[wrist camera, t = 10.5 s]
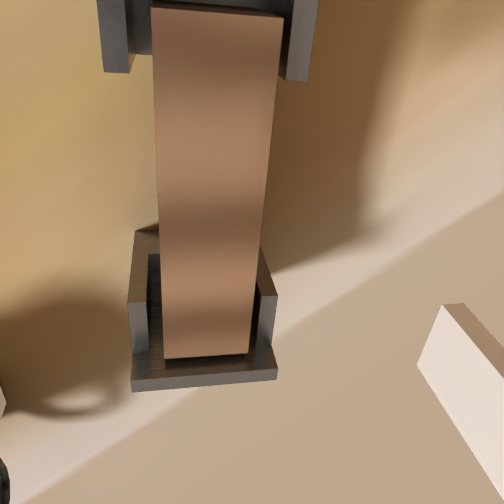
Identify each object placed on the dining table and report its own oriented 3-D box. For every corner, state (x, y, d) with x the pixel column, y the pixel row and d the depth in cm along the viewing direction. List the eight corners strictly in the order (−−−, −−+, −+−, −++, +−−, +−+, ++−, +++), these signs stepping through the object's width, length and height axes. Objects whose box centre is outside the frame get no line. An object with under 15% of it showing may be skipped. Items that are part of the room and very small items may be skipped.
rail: (153, -1, 20) (150, 7, 16) (255, 7, 21) (283, 18, 16) (163, 295, 30) (164, 358, 25) (234, 292, 31) (247, 353, 26)
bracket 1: (111, -67, 21) (78, -91, 13) (279, -49, 23) (345, -61, 15) (120, 44, 24) (97, 82, 16) (269, 53, 26) (321, 92, 17)
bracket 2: (134, 231, 30) (124, 327, 22) (254, 228, 32) (285, 317, 24) (139, 287, 33) (131, 392, 25) (249, 282, 35) (276, 379, 26)
